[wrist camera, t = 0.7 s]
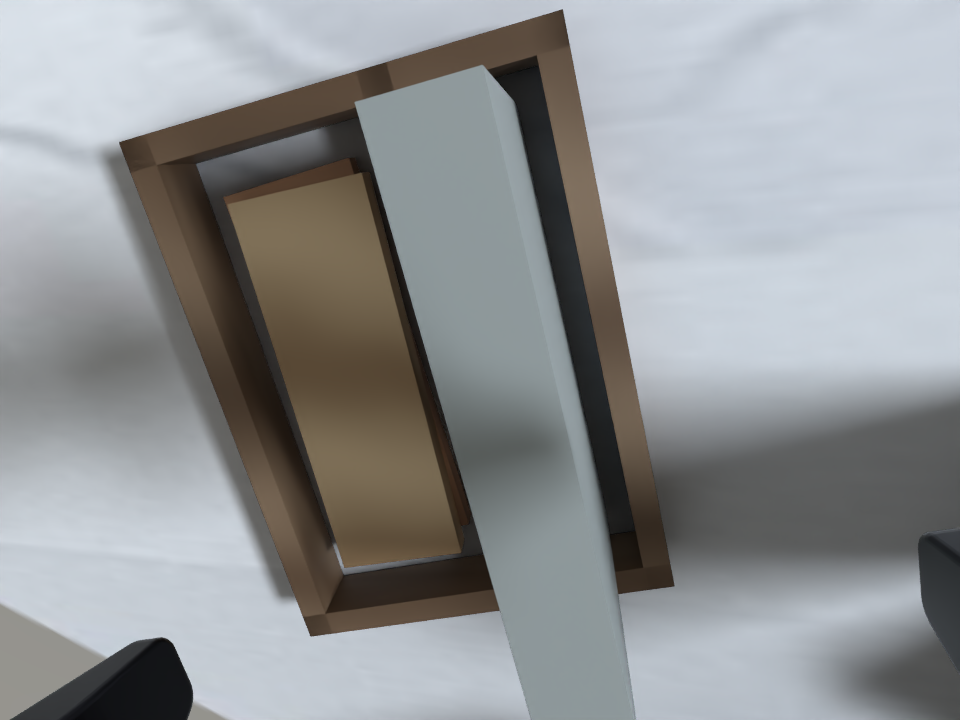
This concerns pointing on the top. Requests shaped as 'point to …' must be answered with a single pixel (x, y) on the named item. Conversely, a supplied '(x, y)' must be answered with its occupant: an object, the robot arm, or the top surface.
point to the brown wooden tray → (247, 378)
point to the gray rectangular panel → (505, 381)
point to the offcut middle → (351, 168)
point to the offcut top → (350, 368)
